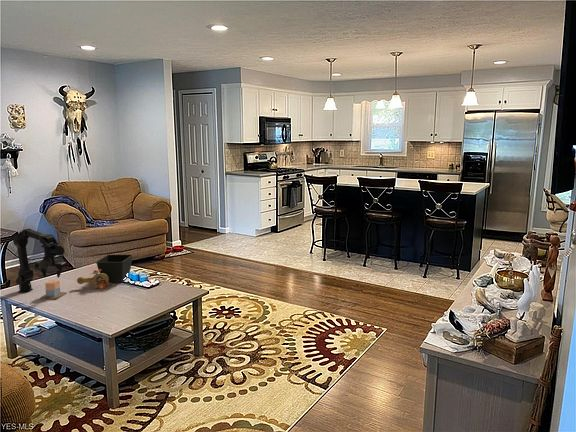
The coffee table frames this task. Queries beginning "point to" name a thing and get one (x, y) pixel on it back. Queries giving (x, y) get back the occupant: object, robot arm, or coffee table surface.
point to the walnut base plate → (53, 297)
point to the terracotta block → (52, 285)
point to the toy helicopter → (96, 280)
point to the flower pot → (115, 267)
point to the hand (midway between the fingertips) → (51, 277)
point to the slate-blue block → (53, 292)
